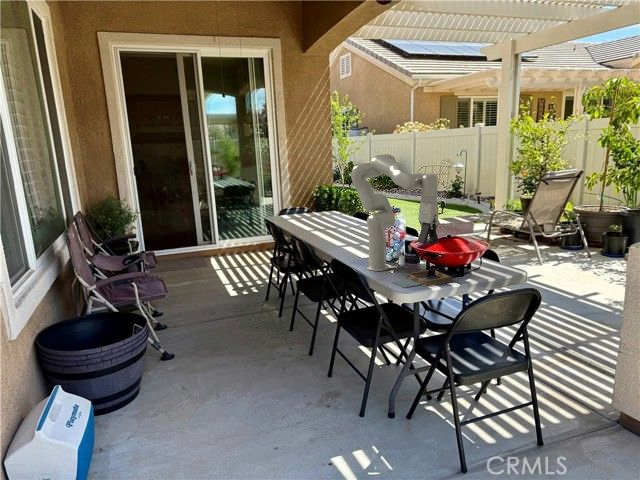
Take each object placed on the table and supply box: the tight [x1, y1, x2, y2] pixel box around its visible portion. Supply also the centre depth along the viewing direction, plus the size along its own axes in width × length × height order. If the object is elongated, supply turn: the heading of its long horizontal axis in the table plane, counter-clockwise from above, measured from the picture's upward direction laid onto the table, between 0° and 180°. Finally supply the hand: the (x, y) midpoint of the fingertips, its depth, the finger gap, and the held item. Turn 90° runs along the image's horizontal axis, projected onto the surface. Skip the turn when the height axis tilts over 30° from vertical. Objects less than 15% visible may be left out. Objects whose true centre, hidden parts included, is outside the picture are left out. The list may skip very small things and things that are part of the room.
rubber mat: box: [392, 278, 422, 289], centre depth 221 cm, size 10×10×1 cm
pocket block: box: [406, 269, 453, 287], centre depth 226 cm, size 16×16×2 cm
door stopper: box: [416, 222, 440, 245], centre depth 221 cm, size 9×6×12 cm, turn 106°
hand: (428, 235), depth 221 cm, fingers closed on door stopper, 6 cm apart
